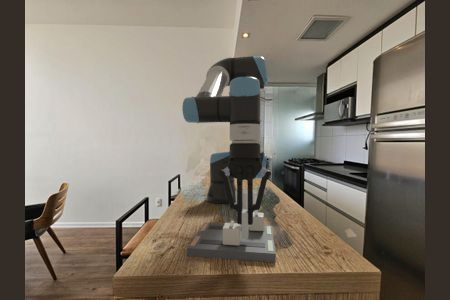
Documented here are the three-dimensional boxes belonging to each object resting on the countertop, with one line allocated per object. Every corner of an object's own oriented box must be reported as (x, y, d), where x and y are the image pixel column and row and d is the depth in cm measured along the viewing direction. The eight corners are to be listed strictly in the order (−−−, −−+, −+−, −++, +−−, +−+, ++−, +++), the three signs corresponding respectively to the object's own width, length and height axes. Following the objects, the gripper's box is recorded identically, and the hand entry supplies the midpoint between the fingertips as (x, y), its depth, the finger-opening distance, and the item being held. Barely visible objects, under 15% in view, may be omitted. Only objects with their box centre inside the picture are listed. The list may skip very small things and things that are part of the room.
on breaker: (250, 225, 69) (250, 210, 69) (263, 225, 69) (263, 210, 69) (249, 230, 65) (249, 214, 65) (263, 231, 65) (263, 214, 64)
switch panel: (204, 228, 74) (204, 222, 73) (271, 232, 70) (271, 225, 70) (186, 256, 56) (186, 247, 56) (275, 262, 53) (275, 253, 53)
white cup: (256, 222, 79) (256, 193, 79) (233, 221, 80) (233, 192, 80) (257, 215, 87) (257, 189, 86) (237, 214, 88) (236, 188, 88)
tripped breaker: (225, 237, 60) (225, 220, 60) (240, 238, 60) (240, 220, 60) (222, 244, 56) (222, 225, 56) (239, 245, 56) (239, 226, 56)
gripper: (216, 142, 54) (216, 241, 55) (272, 142, 52) (272, 244, 53) (221, 142, 62) (221, 229, 62) (270, 142, 60) (270, 232, 60)
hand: (245, 236), depth 58 cm, fingers closed
